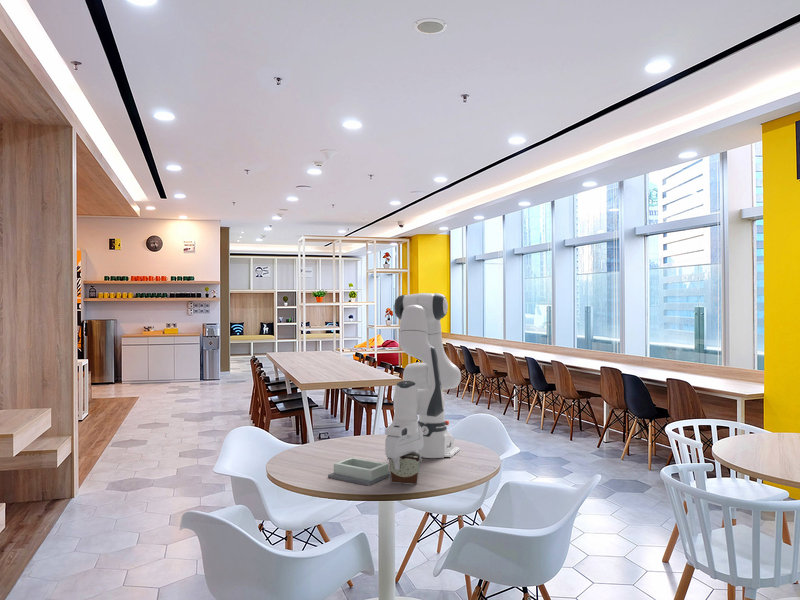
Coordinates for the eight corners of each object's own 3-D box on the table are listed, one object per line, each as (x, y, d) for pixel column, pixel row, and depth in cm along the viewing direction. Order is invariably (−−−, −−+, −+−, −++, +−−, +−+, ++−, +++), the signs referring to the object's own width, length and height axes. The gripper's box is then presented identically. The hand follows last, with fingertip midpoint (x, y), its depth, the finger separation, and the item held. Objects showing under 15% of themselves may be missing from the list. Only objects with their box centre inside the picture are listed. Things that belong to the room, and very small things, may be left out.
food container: (424, 479, 195) (424, 451, 195) (421, 485, 189) (421, 456, 189) (391, 477, 198) (391, 449, 198) (387, 482, 192) (387, 453, 192)
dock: (355, 467, 211) (355, 455, 211) (393, 474, 201) (393, 462, 201) (328, 477, 197) (328, 464, 197) (368, 485, 187) (368, 472, 188)
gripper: (413, 422, 204) (412, 459, 203) (382, 430, 187) (381, 471, 186) (427, 423, 201) (427, 461, 200) (397, 432, 183) (397, 474, 183)
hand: (405, 466), depth 193 cm, fingers open, 8 cm apart
